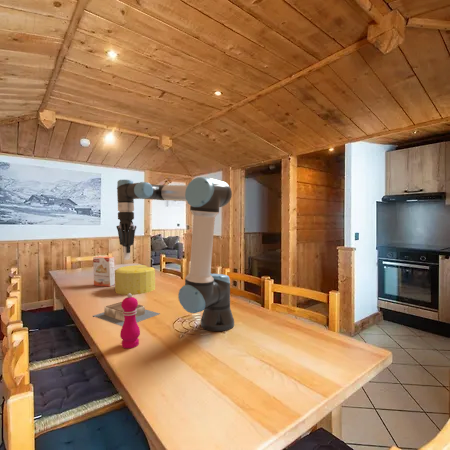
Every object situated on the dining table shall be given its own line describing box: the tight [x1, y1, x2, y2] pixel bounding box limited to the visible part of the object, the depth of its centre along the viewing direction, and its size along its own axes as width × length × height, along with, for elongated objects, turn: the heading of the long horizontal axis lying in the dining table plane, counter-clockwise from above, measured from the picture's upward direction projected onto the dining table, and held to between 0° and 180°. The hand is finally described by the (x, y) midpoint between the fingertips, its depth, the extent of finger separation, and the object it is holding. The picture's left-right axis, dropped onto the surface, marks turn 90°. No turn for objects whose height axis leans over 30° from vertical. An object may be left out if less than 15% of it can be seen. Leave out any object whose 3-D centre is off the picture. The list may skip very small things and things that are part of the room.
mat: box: [92, 309, 161, 327], centre depth 144 cm, size 26×21×1 cm
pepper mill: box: [119, 293, 141, 349], centre depth 110 cm, size 7×7×20 cm
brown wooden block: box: [104, 301, 146, 321], centre depth 144 cm, size 4×12×16 cm
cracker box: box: [92, 255, 116, 288], centre depth 208 cm, size 14×6×21 cm, turn 73°
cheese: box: [114, 264, 156, 296], centre depth 196 cm, size 26×26×15 cm
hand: (126, 259), depth 142 cm, fingers closed
